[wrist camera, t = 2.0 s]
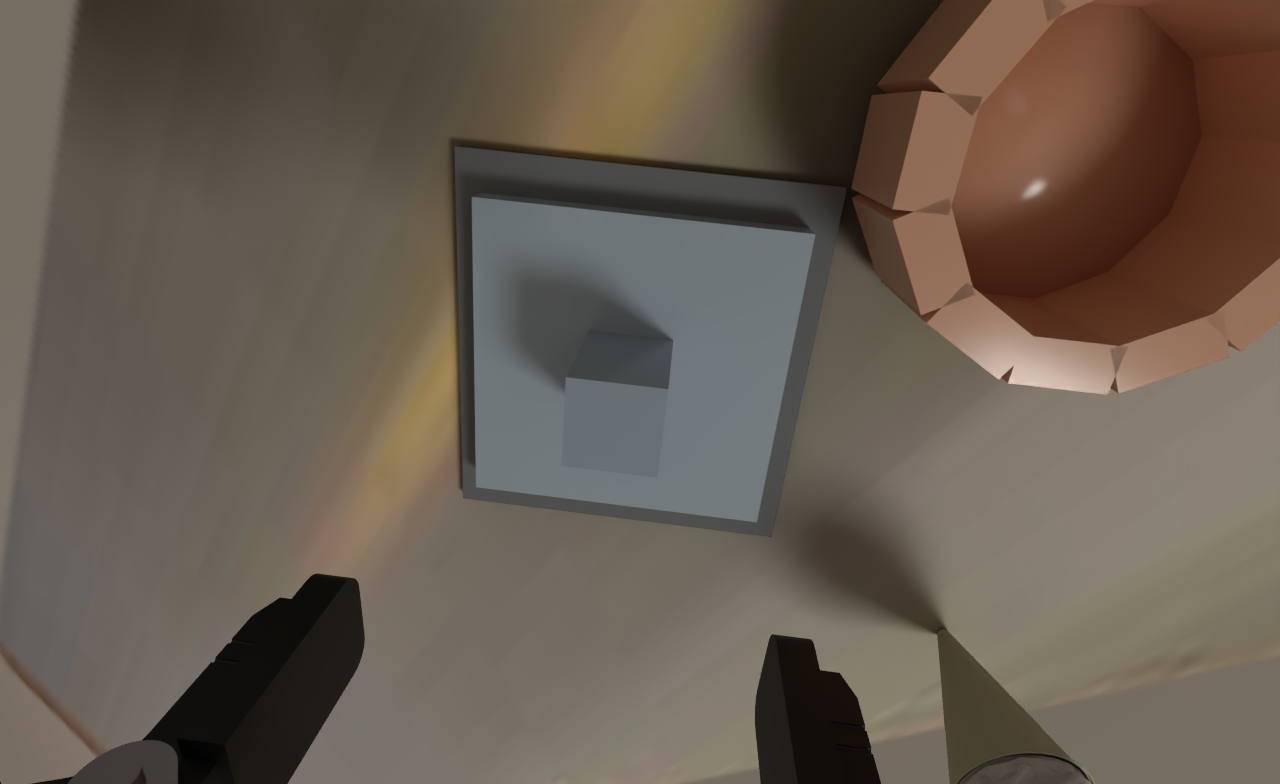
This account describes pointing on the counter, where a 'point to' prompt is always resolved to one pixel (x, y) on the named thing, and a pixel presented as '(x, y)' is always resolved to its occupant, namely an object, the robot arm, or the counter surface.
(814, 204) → the mat
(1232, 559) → the counter surface
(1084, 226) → the bowl
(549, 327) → the lid
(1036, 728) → the ice cream cone
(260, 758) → the robot arm
